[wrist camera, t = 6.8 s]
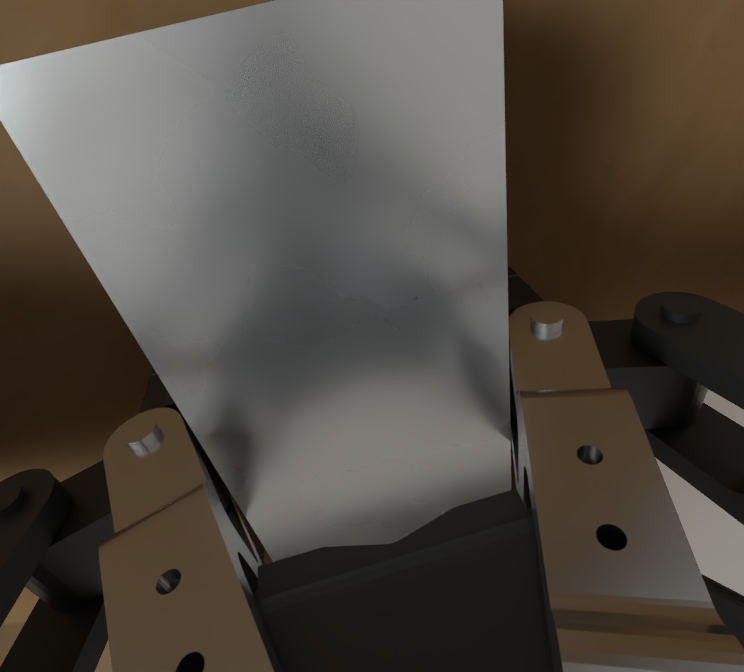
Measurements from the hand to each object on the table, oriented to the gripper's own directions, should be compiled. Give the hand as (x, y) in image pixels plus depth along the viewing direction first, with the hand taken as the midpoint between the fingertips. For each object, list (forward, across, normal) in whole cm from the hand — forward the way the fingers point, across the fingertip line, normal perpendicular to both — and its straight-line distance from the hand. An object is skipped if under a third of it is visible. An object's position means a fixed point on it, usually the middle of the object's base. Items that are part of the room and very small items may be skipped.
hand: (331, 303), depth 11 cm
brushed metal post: (0, 0, +3) cm, 3 cm away
